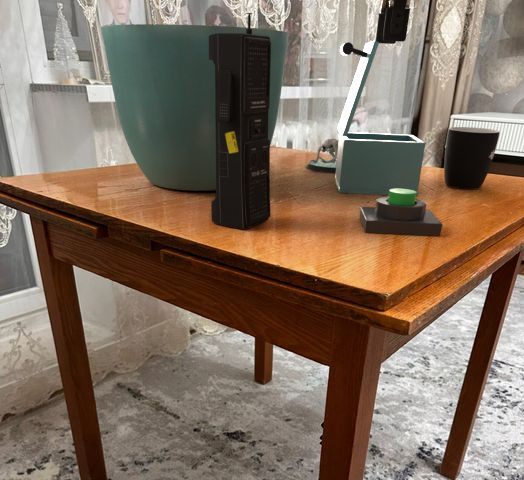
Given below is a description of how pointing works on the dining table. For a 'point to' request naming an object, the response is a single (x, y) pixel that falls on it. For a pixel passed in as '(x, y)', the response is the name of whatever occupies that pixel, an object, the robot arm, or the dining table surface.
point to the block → (399, 219)
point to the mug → (468, 156)
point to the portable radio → (241, 128)
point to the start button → (402, 196)
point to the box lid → (356, 81)
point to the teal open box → (378, 163)
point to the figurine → (325, 165)
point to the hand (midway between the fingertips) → (389, 42)
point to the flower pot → (176, 97)
